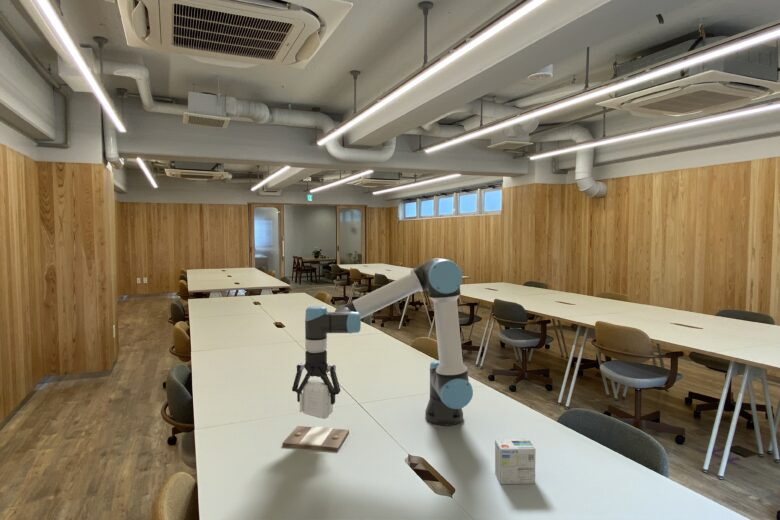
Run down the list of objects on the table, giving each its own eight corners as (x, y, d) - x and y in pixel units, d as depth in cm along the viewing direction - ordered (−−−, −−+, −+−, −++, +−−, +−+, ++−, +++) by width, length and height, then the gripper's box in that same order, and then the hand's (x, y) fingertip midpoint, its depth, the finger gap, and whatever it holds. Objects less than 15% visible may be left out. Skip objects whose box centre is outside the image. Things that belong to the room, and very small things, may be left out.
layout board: (348, 433, 162) (349, 429, 162) (338, 451, 148) (338, 446, 148) (297, 428, 165) (297, 425, 165) (282, 446, 151) (282, 442, 151)
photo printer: (331, 415, 155) (331, 381, 155) (324, 420, 152) (323, 385, 151) (309, 410, 160) (308, 377, 160) (301, 414, 157) (301, 380, 156)
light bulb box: (528, 472, 135) (528, 437, 134) (536, 484, 128) (536, 448, 128) (493, 472, 134) (494, 438, 134) (500, 485, 128) (500, 449, 127)
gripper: (349, 348, 157) (349, 410, 158) (290, 345, 161) (290, 405, 162) (343, 354, 149) (343, 418, 150) (281, 351, 153) (282, 413, 154)
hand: (316, 411), depth 156 cm, fingers closed on photo printer, 10 cm apart
